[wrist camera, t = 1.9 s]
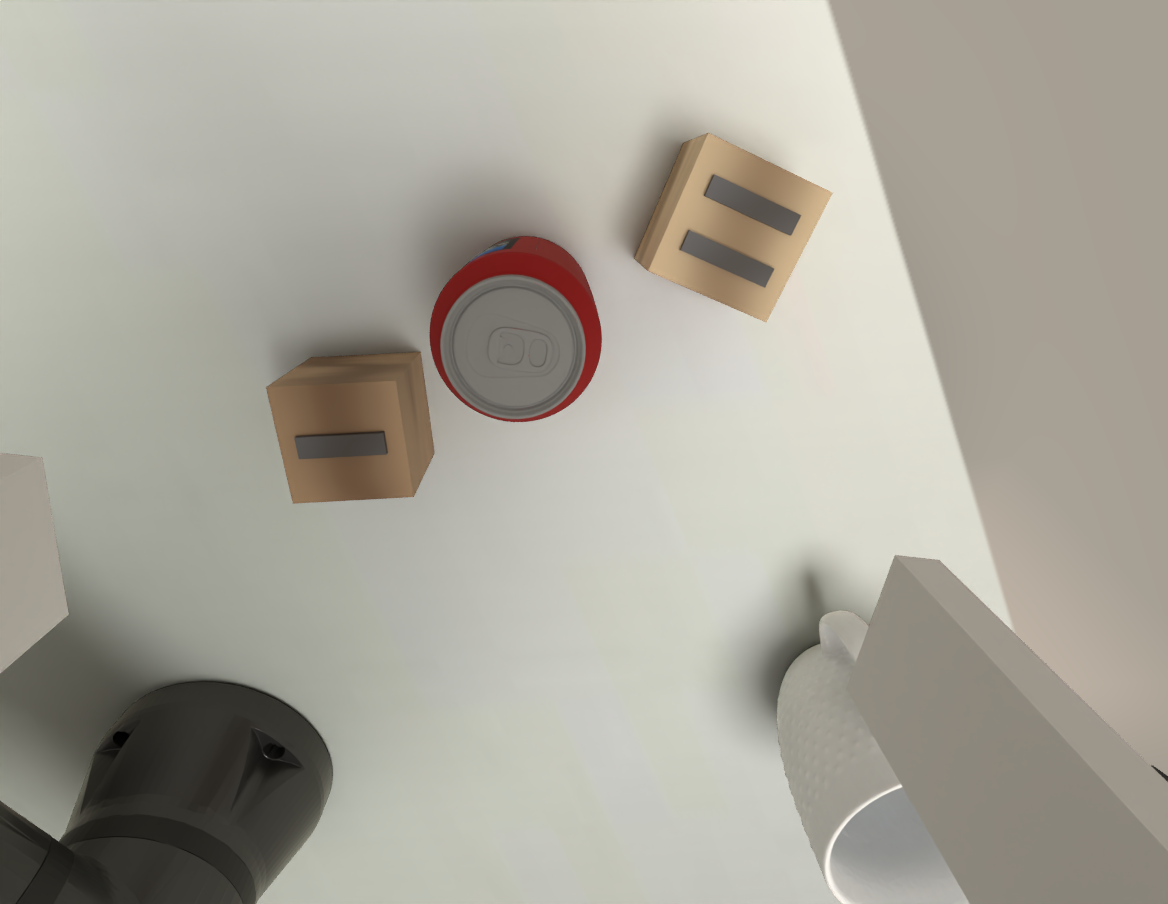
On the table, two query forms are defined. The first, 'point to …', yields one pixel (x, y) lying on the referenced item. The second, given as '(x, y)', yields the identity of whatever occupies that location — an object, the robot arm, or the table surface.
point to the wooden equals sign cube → (730, 225)
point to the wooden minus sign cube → (353, 427)
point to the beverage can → (517, 331)
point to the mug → (852, 783)
